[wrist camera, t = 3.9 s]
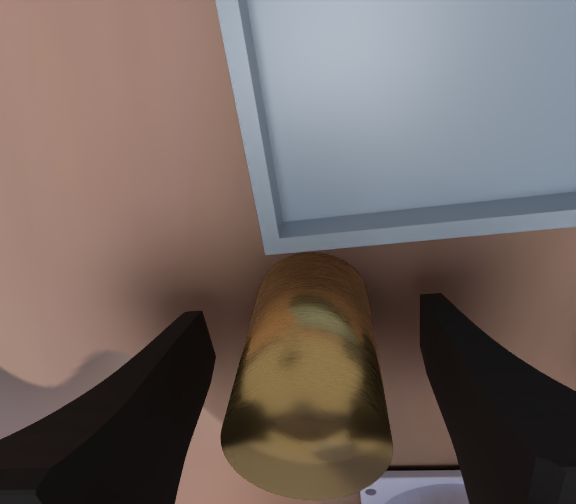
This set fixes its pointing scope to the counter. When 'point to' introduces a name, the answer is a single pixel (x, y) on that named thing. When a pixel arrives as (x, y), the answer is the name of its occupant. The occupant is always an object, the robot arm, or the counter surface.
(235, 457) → the part brass
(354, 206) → the tray
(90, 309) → the counter surface
